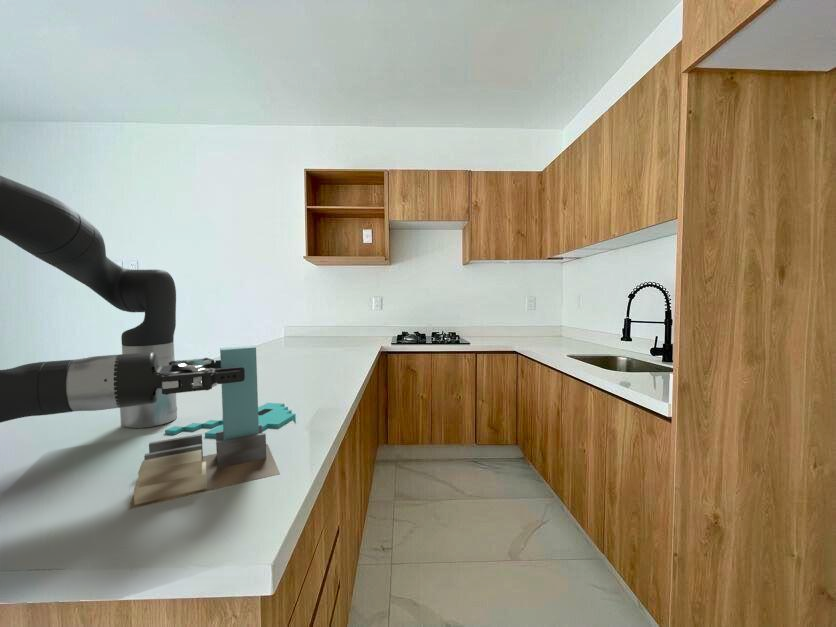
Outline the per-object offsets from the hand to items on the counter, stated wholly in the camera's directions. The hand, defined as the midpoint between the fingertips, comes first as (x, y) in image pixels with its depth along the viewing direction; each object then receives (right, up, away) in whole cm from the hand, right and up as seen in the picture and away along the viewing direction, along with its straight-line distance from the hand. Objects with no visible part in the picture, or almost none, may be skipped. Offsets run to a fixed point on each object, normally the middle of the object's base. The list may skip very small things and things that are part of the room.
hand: (242, 368), depth 61 cm
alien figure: (-8, -15, +19) cm, 26 cm away
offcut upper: (-5, -13, -10) cm, 17 cm away
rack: (-3, -16, -4) cm, 17 cm away
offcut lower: (-5, -15, -10) cm, 19 cm away
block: (0, -14, 0) cm, 15 cm away
